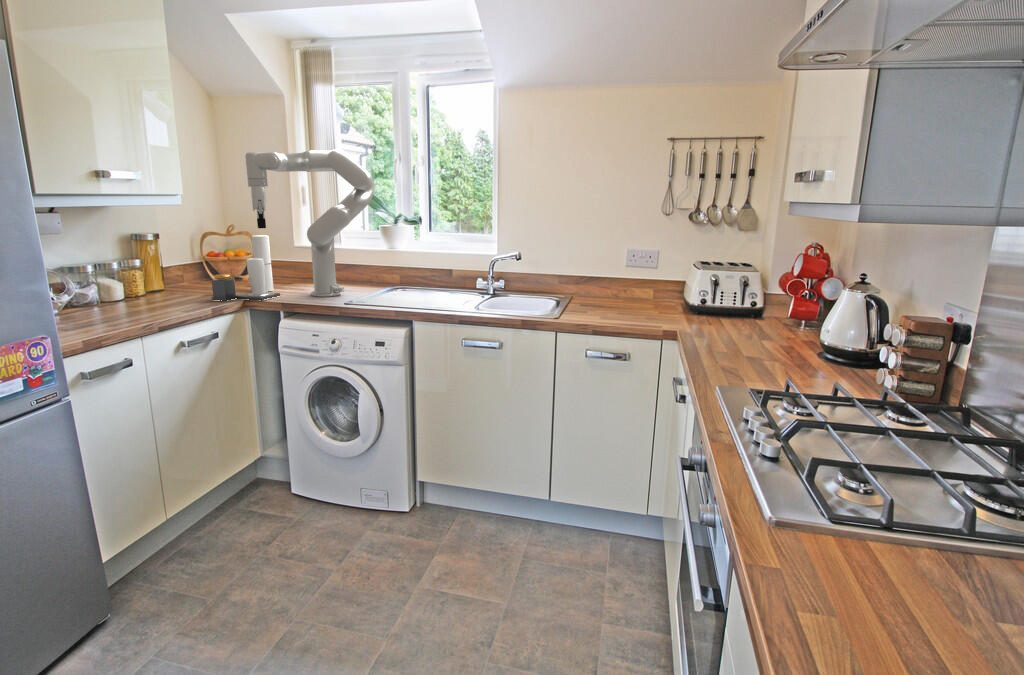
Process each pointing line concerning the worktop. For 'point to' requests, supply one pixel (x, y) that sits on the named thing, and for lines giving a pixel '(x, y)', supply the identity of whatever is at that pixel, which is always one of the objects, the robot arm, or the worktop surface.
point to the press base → (227, 291)
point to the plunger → (222, 276)
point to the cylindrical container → (263, 251)
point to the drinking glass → (256, 275)
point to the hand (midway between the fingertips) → (261, 228)
